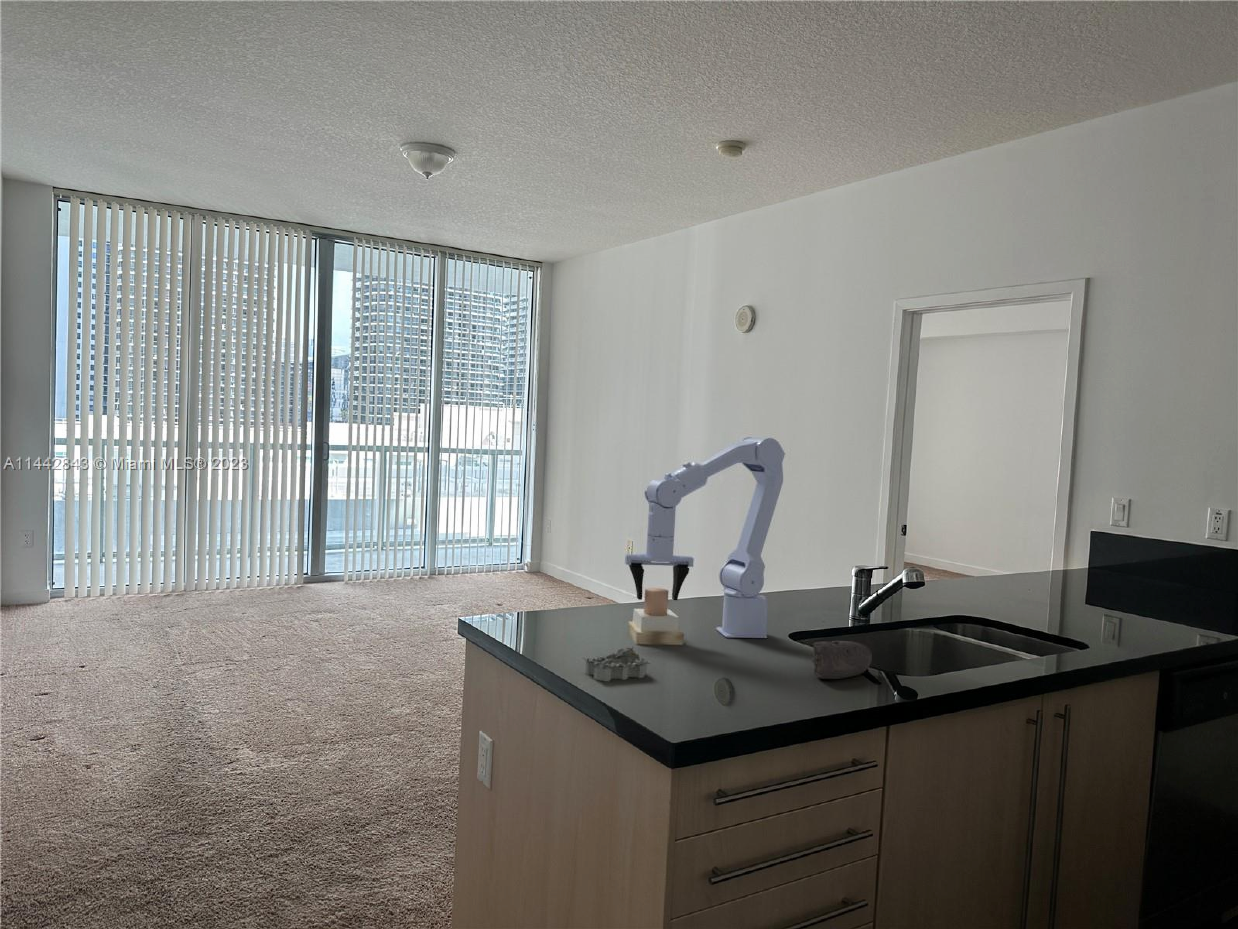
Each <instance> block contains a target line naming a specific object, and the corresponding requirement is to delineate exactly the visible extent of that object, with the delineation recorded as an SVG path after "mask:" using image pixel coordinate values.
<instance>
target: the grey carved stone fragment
mask: <svg viewBox="0 0 1238 929" xmlns="http://www.w3.org/2000/svg"><path fill="white" fill-rule="evenodd" d="M582 659H583V661H584V662H586V663H585V674H586V675H587V676H588V675H589V676H591V675H592V676H593V679H594V680H596V681H597V680H598V681H603V682H611V679H612V680H613V679H620V680H628V678H631V677H633V678H638V679H642V678H645V676H646V675H647V669H648V668H647V667H648V666H647V665H650V664H651V663H650V662H649V661H648V660H645V659H644V658H641V659H640V655H639V653H638V652H636V651H635V650H634V647H633V646H632V647H625V648H620V649H617V652H615V653H612V652H610V653H608V654H607V655H604V656H602V655H598V656H595V657H593V658H590V657H586V658H585V657H583V658H582Z"/></svg>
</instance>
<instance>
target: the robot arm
mask: <svg viewBox="0 0 1238 929" xmlns="http://www.w3.org/2000/svg"><path fill="white" fill-rule="evenodd" d="M785 455H786V453H785V451H784V449H783V447H782V445H781V444H780V442H779V441H778V440H777V439H775V438H773V437H766V438H765V437H764V438H762V437H759V438H758V437H751V436H750V437H748V436H747V437H743V438H742V439H741V440H738V441H735V442H733V443H732V444H731V445H729V446H728V447H725V448H724V449H722V450H721V451H719V452H718V453H715V455H713V456H711V457H709V458H708V459H706V460H705V461H703V462H701V463H698V462H696V461H691V462H690V461H686V462H684V463H682V467H680V468H679V469H677V470H674V471H673V472H666V473H665V474H664V477H663V478H654V479H653V480H651V481H650V482H649V485H647V487H646V490H644V497H645V500H646V501H647V503H648V514H647V516H648V517H647V518H648V519H647V537H646V549H645V551H646V552H645V553H643V554H624V564H625V565H626V566H628V568H629V570H630V572H631V575H632V578H633V582H634V584H635V585H634V586H635V590H636V591H635V592H636V598H637V600H639V601H641V600H643V584H644V583H643V582H644V573H645V569H644V565H645V566H671V567H672V572H673V573H672V574H673V576H672V579H673V580H672V590H671V593H672V594H671V599H672V600H673V601H678V599H679V596H680V595H679V594H680V591H681V588H682V586H683V583H684V582H685V579H686V578H687V576H688V575H689V573H690V567H691V568H693V567H694V562H695V560H694V559H695V558H694V557H693V556H683V555H674V547H675V546H674V545H675V544H674V543H675V529H676V528H675V527H676V511H677V510H676V508H677V506H679V504H680V503H681V502H682V499H683V498H685V497H686V496H688V495H690V494H691V493H693V492H695V491H697V490H698V489H701V488H702V487H704V486H706V485H707V483H708V478H710V477H712V476H714V475H715V474H718V473H720V472H721V471H724V470H726V469H728V468H730V467H732V466H735V465H736V464H742V465H743V466H744V467H745V468H747V470H748V471H749V472H751V474H752V476H753V477H754V479H755V481H756V486H755V488H754V491H753V495H752V499H751V502H750V505H749V507H748V512H747V515H746V517H745V520H744V524H743V526H742V530H741V534H740V537H739V540H738V543H737V547H736V549H734V550H733V551H732V552H731V553H729V555H728V556H727V560H726V561H725V563H724V564H723V565H722V567H721V568H720V570H719V574H718V578H719V583H720V584H721V585H722V587H723V604H722V605H723V606H722V626H717V627H716V628H715V629H716V630H717V631H718V632H719V633H720V634H721V635H722V636H724V637H725V638H736V639H737V638H741V639H742V638H747V639H748V638H750V639H751V638H752V639H757V638H758V639H767V638H768V635H767V624H768V601H767V598H766V596H764V595H761V594H760V595H759V593H760V592H761V591H762V590H763V587H764V585H765V584H764V583H765V577H764V572H765V569H766V564H765V562H764V561H763V559H762V552H763V548H764V545H765V543H766V541H767V536H768V533H769V529H770V527H771V523H772V520H773V516H774V513H775V510H776V506H777V503H778V500H779V496H780V493H781V490H782V486H783V483H784V469H783V461H784V458H785Z"/></svg>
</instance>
